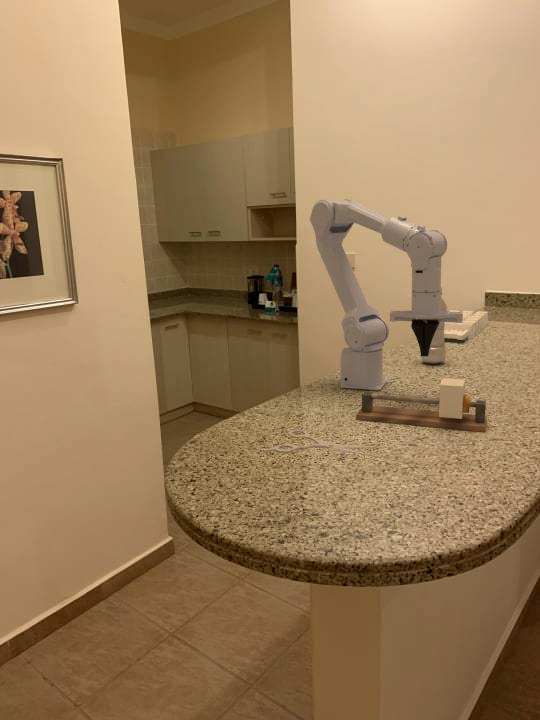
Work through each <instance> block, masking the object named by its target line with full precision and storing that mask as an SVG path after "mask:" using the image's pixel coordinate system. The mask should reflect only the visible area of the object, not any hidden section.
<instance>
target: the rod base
mask: <svg viewBox="0 0 540 720" xmlns="http://www.w3.org/2000/svg"><path fill="white" fill-rule="evenodd" d="M373 400H377V401H378V400H381V401H392V402H405V403H417V404H419V403H420V404H430V405H439V402H440V398H429V397H419V396H418V397H416V396H415V397H414V396H405V395H404V396H403V395H393V394H392V395H390V394H377V393H374V392H373V391H364V392H363V393H362V394H361V408H360V409H359V410H358V411H357V413H356V414H355V420H359V421H365V422H366V421H367V422H376V423H379V422H380V423H387V424H388V423H390V424H396V425H397V424H399V425H407V426H409V425H410V426H418V427H419V426H420V427H429V428H438V429H439V428H440V429H447V430H448V429H450V430H458V431H459V430H460V431H461V430H462V431H470V432H480V433H485V432H486V428H487V427H486V426H487V417H488V416H487V415H486V406H487V401H486V400H480V399H479V400H477V399H476V401H471V397H470V395H469V394H468V395H467V394H466V395H464V396H463V412H464V413H463V417H462V419H457V418H446V417H439V410H438V411H436V410H425V409H415V408H414V409H413V408H401V407H391V406H390V407H389V406H379V405H374V403H373V402H374V401H373ZM470 408H475V413H474V414H473V413H470Z"/></svg>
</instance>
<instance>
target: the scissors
mask: <svg viewBox="0 0 540 720" xmlns="http://www.w3.org/2000/svg"><path fill="white" fill-rule="evenodd" d="M294 433H302V434H301V435H299V434H294ZM288 435H289V436H290V437H292V438H295V439H300V438H302V439H303V438H305V439H310V440H312V441H314V442H315V443H314V444H309V445H293V444H291V443H284V444H279V445H276V446H275V447H271V448H263V450H262V452H264V453H265V452H274V451H276V452H278V453H284V454H285V453H287V454H288V453H292V452H295V451H297V450H300V449H302V450H307V449H311V448H326V449H327V448H330V449H335V450H340V451H345V452H349V453H353V454H360V455H363V456H371V457H375V458H379V455H374V454H370V453H368V452H367V453H366V452H362V451H359V450H354V449H355V448H357V449H359V448H361V449H363V448H365V449H366V448H367V449H369V448H370V449H371V448H373V449H375V448H377V449H379V448H384V449H385V448H386V447H383V446H371V445H368V446H367V445H359V444H358V445H355V444H338V443H337V444H336V443H332V442H329V441H325V440H320V439H317V438H316V437H315V436H311V435H309V434H308V432H307V431H305V430H301V429H295V430H290V431H289V432H288ZM286 447H287V448H288V447H289V448H290V449H280V448H286Z"/></svg>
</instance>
